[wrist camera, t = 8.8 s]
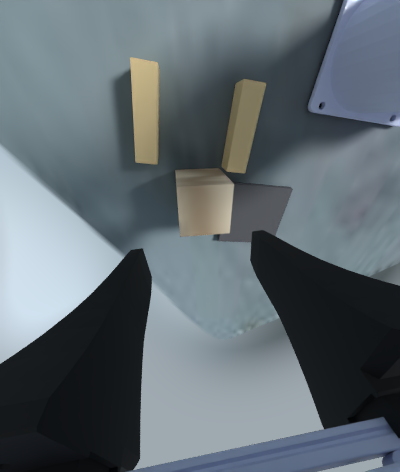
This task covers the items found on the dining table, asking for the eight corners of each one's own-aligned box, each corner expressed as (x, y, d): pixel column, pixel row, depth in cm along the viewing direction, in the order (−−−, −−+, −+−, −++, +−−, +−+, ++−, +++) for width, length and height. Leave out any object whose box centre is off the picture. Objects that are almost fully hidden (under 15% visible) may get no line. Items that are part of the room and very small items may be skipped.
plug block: (218, 168, 17) (234, 184, 13) (217, 208, 20) (229, 233, 15) (175, 169, 17) (176, 186, 13) (178, 210, 19) (180, 236, 15)
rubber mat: (289, 187, 19) (292, 188, 19) (270, 240, 23) (272, 242, 22) (228, 181, 18) (230, 183, 18) (217, 238, 21) (218, 240, 21)
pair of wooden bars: (255, 86, 15) (266, 83, 13) (238, 168, 18) (245, 173, 16) (135, 65, 13) (130, 57, 11) (139, 157, 16) (135, 162, 14)
